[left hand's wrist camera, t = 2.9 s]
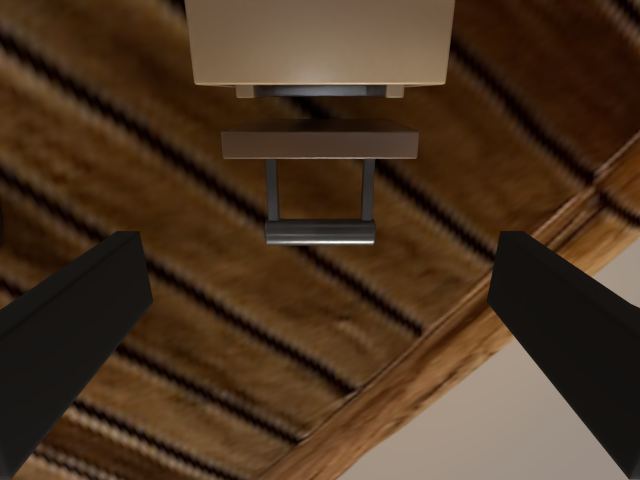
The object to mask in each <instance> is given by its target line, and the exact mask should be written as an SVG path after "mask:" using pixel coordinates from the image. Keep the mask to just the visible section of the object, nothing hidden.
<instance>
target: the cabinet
mask: <svg viewBox="0 0 640 480" xmlns="http://www.w3.org/2000/svg"><path fill="white" fill-rule="evenodd" d="M454 6H455V0H185V8H186V16H187V25H188V33H189V42H190V50H191V59H192V67H193V75H194V82H195V84H197V85H208V86H222V87H235V85H404V87H415V86H428V85H441V84H445V82H446V74H447V66H448V57H449V48H450V40H451V31H452V23H453V14H454Z"/></svg>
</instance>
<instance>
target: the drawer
mask: <svg viewBox="0 0 640 480" xmlns="http://www.w3.org/2000/svg"><path fill="white" fill-rule="evenodd" d="M235 87H236V97H237V98H259V97H357V96H368V97H383V98H402V97H403V96H404V85H235ZM220 134H221V144H222V155H223V158H224V159H265V167H266V184H267V202H268V219H267V220H266V222H265V242H266V245H374V243H375V236H376V228H375V221H374V219H372V206H373V187H374V169H375V159H416V158H417V155H418V144H419V134H420V133H419V132H418V131H416V130H413V129H411V128H408V127H406V126H403V125H400V124H398V123H395V122H393V121H390V120H387V119H253V120H250V121H248V122H245V123H243V124H240V125H238V126H235V127H232V128H230V129H227V130H225V131H222V132H221V133H220ZM277 159H363V173H362V196H361V219H279V218H280V215H279V192H278V169H277Z"/></svg>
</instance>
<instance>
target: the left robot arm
mask: <svg viewBox="0 0 640 480" xmlns="http://www.w3.org/2000/svg"><path fill="white" fill-rule="evenodd" d="M2 234H3V222H2V214H1V208H0V245H1V241H2ZM152 303H153V298H152V293H151V287H150V282H149V277H148V272H147V267H146V262H145V257H144V252H143V247H142V241H141V236H140V231H116V232H115V233H113V234H112V235H111V236H109V237H108V238H106V239H105V240H103V241H102V242H100V243H99V244H97V245H96V246H94V247H93V248H91V249H90V250H88V251H87V252H85V253H84V254H82V255H81V256H79V257H78V258H76V259H75V260H74V261H72V262H71V263H69V264H68V265H66V266H65V267H63V268H62V269H60V270H59V271H57V272H56V273H54V274H53V275H51V276H50V277H48V278H47V279H45V280H44V281H42V282H41V283H39V284H38V285H37V286H35V287H34V288H32V289H31V290H29V291H28V292H26V293H25V294H23V295H22V296H20V297H19V298H17V299H16V300H14V301H13V302H11V303H10V304H8V305H7V306H5V307H4V308H2V309H1V310H0V480H11V479H12V477H13V476H14V475H15V474H16V472H17V471H18V470H19V469H20V467H21V466H22V465H23V464H24V462H25V461H26V460H27V459H28V457H29V456H30V455H31V454H32V452H33V451H34V450H35V449H36V447H37V446H38V445H39V444H40V442H41V441H42V440H43V439H44V438H45V436H46V435H47V434H48V433H49V431H50V430H51V429H52V428H53V426H54V425H55V424H56V423H57V421H58V420H59V419H60V418H61V416H62V415H63V414H64V413H65V411H66V410H67V409H68V408H69V406H70V405H71V404H72V403H73V401H74V400H75V399H76V398H77V396H78V395H79V394H80V393H81V391H82V390H83V389H84V388H85V386H86V385H87V384H88V383H89V381H90V380H91V379H92V378H93V376H94V375H95V374H96V373H97V371H98V370H99V369H100V368H101V366H102V365H103V364H104V363H105V361H106V360H107V359H108V358H109V356H110V355H111V354H112V353H113V351H114V350H115V349H116V348H117V346H118V345H119V344H120V343H121V341H122V340H123V339H124V338H125V337H126V335H127V334H128V333H129V332H130V330H131V329H132V328H133V327H134V325H135V324H136V323H137V322H138V320H139V319H140V318H141V317H142V315H143V314H144V313H145V312H146V310H147V309H148V308H149V307H150V305H151V304H152ZM487 303H488V304H489V305H490V307H491V308H492V309H493V310H494V312H495V313H496V314H497V315H498V317H499V318H500V319H501V320H502V322H503V323H504V324H505V325H506V327H507V328H508V329H509V330H510V332H511V333H512V334H513V335H514V336H515V338H516V339H517V340H518V341H519V343H520V344H521V345H522V346H523V348H524V349H525V350H526V351H527V353H528V354H529V355H530V356H531V358H532V359H533V360H534V361H535V363H536V364H537V365H538V366H539V368H540V369H541V370H542V371H543V373H544V374H545V375H546V376H547V378H548V379H549V380H550V381H551V383H552V384H553V385H554V386H555V388H556V389H557V390H558V391H559V393H560V394H561V395H562V396H563V398H564V399H565V400H566V401H567V403H568V404H569V405H570V406H571V408H572V409H573V410H574V411H575V413H576V414H577V415H578V416H579V418H580V419H581V420H582V421H583V423H584V424H585V425H586V426H587V428H588V429H589V430H590V431H591V432H592V434H593V435H594V436H595V437H596V439H597V440H598V441H599V442H600V444H601V445H602V446H603V447H604V449H605V450H606V451H607V452H608V454H609V455H610V456H611V457H612V459H613V460H614V461H615V462H616V464H617V465H618V466H619V467H620V469H621V470H622V471H623V472H624V474H625V475H626V476H627V477H628V479H630V480H633V479H634V480H640V308H639V307H636V306H634V305H632V304H630V303H629V302H627V301H626V300H624V299H623V298H621V297H620V296H618V295H617V294H615V293H614V292H612V291H611V290H609V289H608V288H606V287H605V286H603V285H602V284H601V283H599V282H598V281H596V280H595V279H593V278H592V277H590V276H589V275H587V274H586V273H584V272H583V271H581V270H580V269H578V268H577V267H575V266H574V265H572V264H571V263H569V262H568V261H566V260H565V259H564V258H562V257H561V256H559V255H558V254H556V253H555V252H553V251H552V250H550V249H549V248H547V247H546V246H544V245H543V244H541V243H540V242H538V241H537V240H535V239H534V238H532V237H531V236H529V235H528V234H527V233H525V232H524V231H500V236H499V242H498V247H497V252H496V257H495V262H494V267H493V272H492V277H491V282H490V288H489V293H488V298H487Z"/></svg>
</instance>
